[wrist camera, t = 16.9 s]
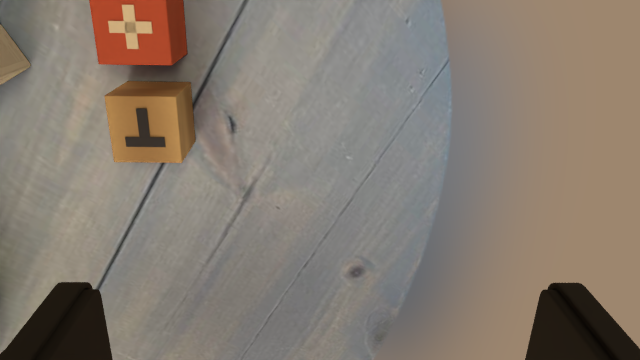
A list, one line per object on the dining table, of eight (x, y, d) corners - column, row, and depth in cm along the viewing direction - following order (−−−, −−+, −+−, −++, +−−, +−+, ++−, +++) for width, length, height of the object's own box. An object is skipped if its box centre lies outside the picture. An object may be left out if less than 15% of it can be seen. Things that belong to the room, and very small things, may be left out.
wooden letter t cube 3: (190, 81, 37) (175, 96, 32) (195, 141, 38) (181, 163, 34) (127, 80, 37) (103, 95, 32) (134, 141, 38) (113, 162, 34)
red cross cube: (182, -15, 34) (164, -13, 30) (187, 54, 36) (171, 65, 32) (113, -17, 34) (86, -14, 30) (122, 53, 36) (97, 64, 31)
